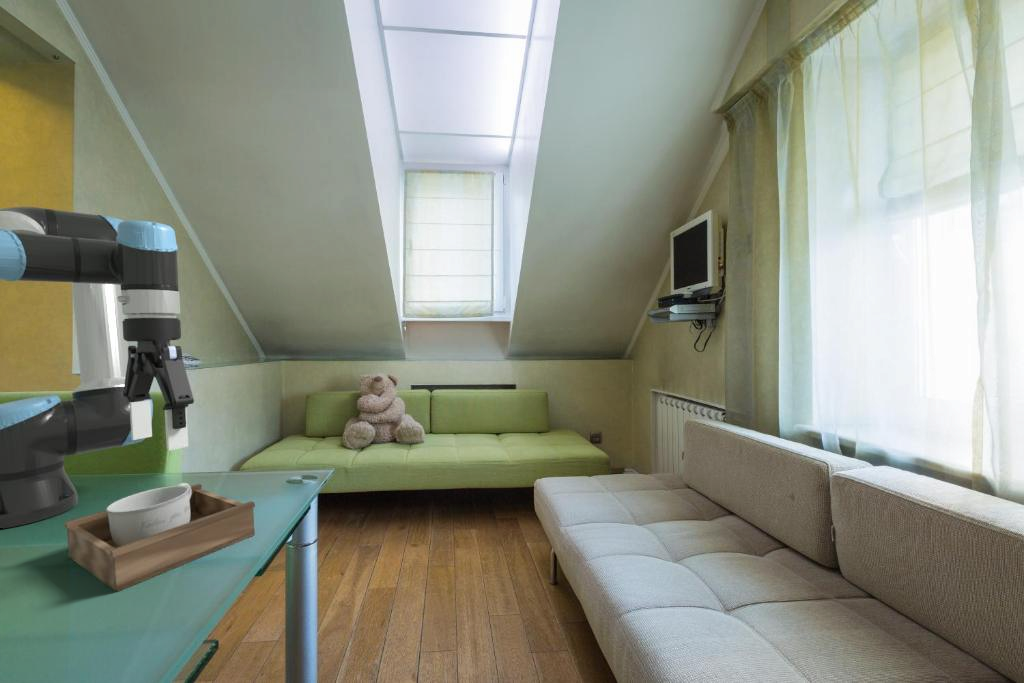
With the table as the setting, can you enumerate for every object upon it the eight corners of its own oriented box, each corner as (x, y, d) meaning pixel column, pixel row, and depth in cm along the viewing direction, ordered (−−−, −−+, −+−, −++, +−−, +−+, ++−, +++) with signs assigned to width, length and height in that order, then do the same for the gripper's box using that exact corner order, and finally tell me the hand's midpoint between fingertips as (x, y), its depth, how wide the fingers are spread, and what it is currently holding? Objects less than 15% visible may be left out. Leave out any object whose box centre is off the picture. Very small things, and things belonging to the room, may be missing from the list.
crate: (67, 557, 72) (64, 522, 72) (200, 512, 89) (198, 483, 89) (115, 592, 62) (112, 552, 61) (256, 534, 78) (254, 502, 78)
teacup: (146, 562, 68) (143, 511, 68) (90, 556, 70) (87, 507, 70) (222, 522, 82) (219, 479, 82) (173, 518, 84) (171, 477, 84)
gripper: (94, 318, 77) (102, 439, 78) (158, 315, 64) (166, 459, 65) (147, 318, 83) (153, 429, 84) (214, 315, 71) (221, 446, 71)
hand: (159, 443), depth 75 cm, fingers open, 13 cm apart
